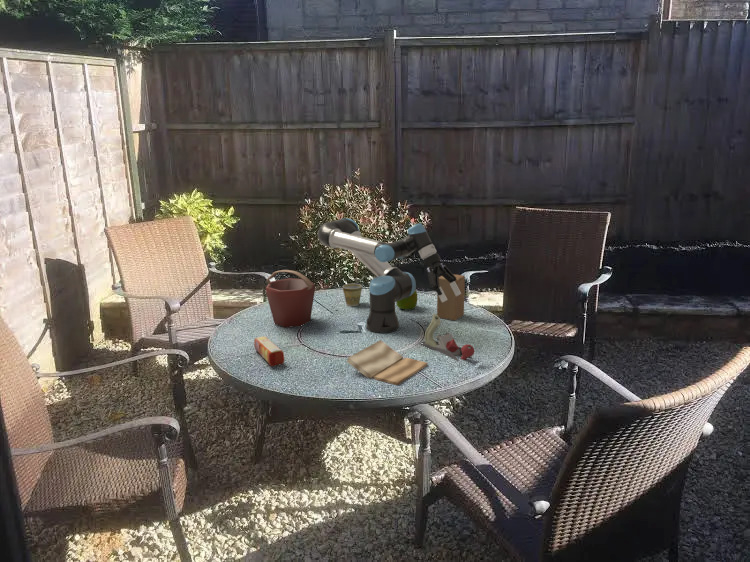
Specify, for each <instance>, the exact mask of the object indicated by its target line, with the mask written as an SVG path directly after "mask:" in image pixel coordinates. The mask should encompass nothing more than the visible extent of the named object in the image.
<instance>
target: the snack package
mask: <svg viewBox="0 0 750 562" xmlns="http://www.w3.org/2000/svg"><path fill="white" fill-rule="evenodd" d="M253 341H254V342H253V343H254V344H253V345H254V349H255V351H257V352H258V353H259V355H260V356H261V357H262V358H263V359H264V360H265V361H266V362H267V363H268V365H269V366H271V367H276V366H275V365H278V366H280V365H279V364H281V365H283V364H284V362H285V353H284V351H283V350H282V349H280V347H278V346H277V345H276V344H275V343H274V342H273V341H271V340H270V339H269V338H268V337H267V336H265V335H263V336H262V335H261V336H258V337H256V338H255V339H253Z"/></svg>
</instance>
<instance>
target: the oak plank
mask: <svg viewBox="0 0 750 562" xmlns="http://www.w3.org/2000/svg"><path fill="white" fill-rule="evenodd" d="M427 366H428V362H426V361H423V360H422V361H421V360H417V359H412V358H409V357H403V359H402V360H401V361H399V362H398V363H396V364H394V365H393V366H391V367H390V368H388V369H386V370H385V371H383V372H381V373H380V374H378V375H377V376H375V378H374V380H377V381H380V382H383V383H388V384H390V385H391V384H392V385H395V386H399V385H400V384H401V383H403V382H405V381H406V380H408V379H409V378H410V377H412V376H413V375H416V374H417V373H419V371H421V370H422V369H424V368H425V367H427Z"/></svg>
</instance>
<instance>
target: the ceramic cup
mask: <svg viewBox="0 0 750 562" xmlns="http://www.w3.org/2000/svg"><path fill="white" fill-rule="evenodd" d="M362 289H363V285H362V284H360V283H346V284H343V285H342V290H343V294H344V300H345V303H346V306H347V307H351V306H352V307H358V306H359V305H360V301H361V296H362Z"/></svg>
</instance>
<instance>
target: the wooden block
mask: <svg viewBox="0 0 750 562" xmlns="http://www.w3.org/2000/svg"><path fill="white" fill-rule="evenodd" d="M453 274H454V273H453ZM454 276H455V277H456V281H455V282H456V284H457V286H458V288H459V290H460V292H461V294H460V295H458V296H456V295H455V293H454V292H453V290H452V288H451V286H450V282H449V281H448V280H446V279H445V278H444V277H443V276H442V275H439V287H441V288H442V290H443V292H444V294H445V296H446V298H447V300H446V301H444V302H443V303H442V301H441V300H440V298H439V296H438V294H437V293H436V296H437V297H436V305H437V306H436V314H437V315H438V316H439V319H445V320H451V321H457V320H458V319H461V317H463V316H464V315H465V287H466V286H465V277H466V276H465V275H462V274H454Z"/></svg>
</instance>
